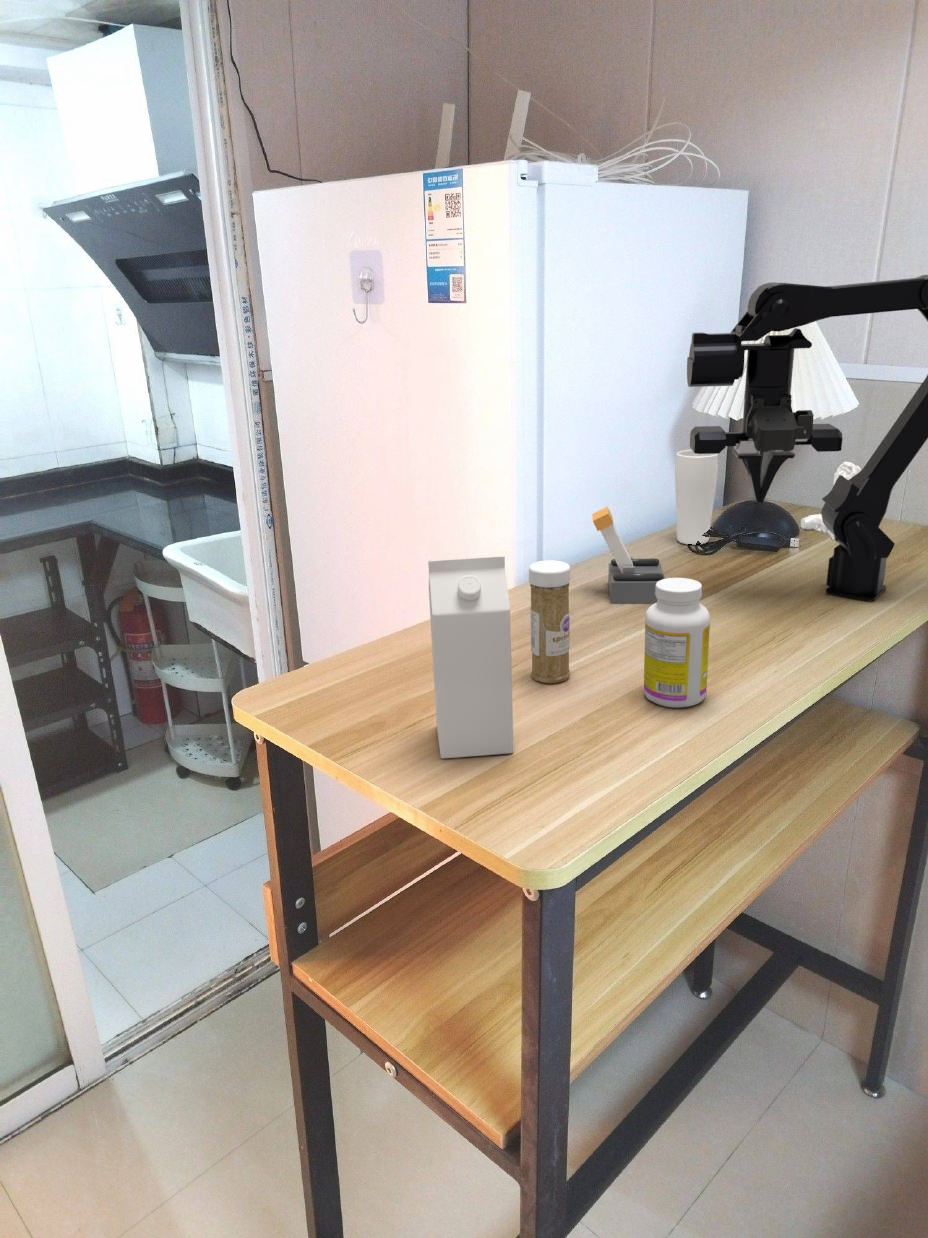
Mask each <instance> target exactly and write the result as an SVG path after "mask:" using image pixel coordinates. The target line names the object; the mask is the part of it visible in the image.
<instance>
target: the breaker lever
mask: <svg viewBox="0 0 928 1238" xmlns="http://www.w3.org/2000/svg"><path fill="white" fill-rule="evenodd" d="M591 516H592V522H593V525H594V527H595V528H596V530H597V532H599V531H600V532H601V535H602V537H603V539H604V541H605V543H606V544H607V547H608V549H609V551H610V553H611V555H612V556H613V559H615V561H616V563H617V565H618V567H619V569H620V571H621V573H623V566H633V563H632V560H631V558H630V557H631V556H630V554H629V551H627V548H626V545H625V544H624V542H623V540H622V537H621V536H620V533H619V532H618V530H617V529H616V526H615V524H614V523H615V522H614V519H613V514H612V512H611V510H610V509H609V507H608V506H605V507H604V508H602V509H599V510H597V511H595V512H593V513H591Z"/></svg>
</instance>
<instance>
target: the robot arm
mask: <svg viewBox="0 0 928 1238" xmlns="http://www.w3.org/2000/svg"><path fill="white" fill-rule="evenodd" d="M909 310H918V311H919V313H920V314H921V315H922V316H923V318H924V319H925V320H926V322H927V323H928V274H923V275H920V276H917V277H911V278H902V279H899V278H898V279H891V280H881V281H869V282H861V283H860V282H859V283H850V284H849V283H848V284H839V285H829V286H823V285H812V284H811V285H810V284H800V283H786V282H773V281H772V282H768V283H763V284H761V285H760V286H758V287H757V288H756V289H755V290H754V291H753V292H752V294H751V295H750V297H749V299H748V302H747V311H746V312H745V313H744V315H742V317H741V318H740V320H739V321H738V322H737V324H735V326H734V328H733V329H732V330H731V331H730V332H727V333H724V332H721V333H720V332H719V333H706V332H702V331H701V332H692V334H691V342H690V347H689V352H688V353H689V354H688V356H687V361H686V380H687V381H686V382H687V386H688V387H689V388H700V387H701V388H702V387H732V386H734V383H735V381H736V380H739V379H740V378H743V375H744V369H745V353H746V351H747V355H746V356H747V358H746V369H745V370H746V371H745V372H746V373H745V386H744V398H743V399H744V401H743V413H742V425H741V431H732V432H730V431H729V432H727V431H725V429H723V427H722V426H720V425H713V426H712V425H711V426H710V425H709V426H707V425H705V426H694V427H693V428H692V429H691V431H690V434H689V448H690V450H692V451H693V452H694V453H696V454H718V455H719V454H720V453H721V452H722V451H724V449H726V447H733V448H731V453H732V454H733V455H734V456H735V457H736V458H737V459H739V460H741V461H742V463H743V465H744V467H745V470H746V472H747V476H748V480H749V482H750V483H749V484H750V486H751V491H752V494H753V497H754V500H755V502H756V504H762V503H764V501H765V499H766V496H767V494H768V493H769V489H770V487H771V486H772V483H773V481H774V478H775V476H776V474H777V473H778V471H779V469H780V468H781V467H782V465H783V464H784V463H785V462H786V461H787V460H788V459H794V458H795V456H796V454H795V453H794V452H793V450H794V449H795V446H811V447H812V448H813V449H814V450H815V451H816V452H819V453H822V452H824V453H825V452H827V453H828V452H840V451H842V446H843V440H844V439H843V438H844V437H843V433H842V431H841V430H840V429H839V428H837V427H835V426H834V425H833V424H831V423H814V416H815V415H814V413H813V410H811V409H805V410H803V409H802V410H800V409H799V410H796V411H793V407H792V400H793V399H792V394H791V392H792V383H793V381H792V380H793V370H794V369H793V368H794V357H795V349H796V350H797V349H811V348H812V346H813V343H812V342H811V341H810V340H809V339H808V338H807V337H806V336H805V335H804V333H803V332H802V330H801V328H799V327H803V326H806V325H809V324H812V323H815V322H817V321H821V320H824V319H827V318H828V319H829V318H834V317H842V316H844V317H845V316H856V315H866V314H877V313H885V312H886V313H887V312H888V313H890V312H896V311H897V312H898V311H909ZM791 329H793V330H792V331H791V332H790V333H789V334H777V335H776V334H771V335H768V334H769V333H771V332H779V333H780V332H783V331H787V330H791ZM762 338H764V340H763V342H762V343H761V342H760V343H744V344H743V343H742V342H757V341H760V339H762ZM927 440H928V374H926V376H925V379H924V380H923V381H922V383H920V386H919V387H918V389H917V390H916V391H915V393H914V394H913V396H912V397H911V398H910V400H909V401H908V403H907V404H906V406H905V407H904V408H903V410H902V412H901V413H900V415H899V416H898V417H897V419H896V420H895V422H893V425H891V427H890V429H889V430H888V432H887V433H886V435H885V436H884V438H883V439H882V441H881V442H880V443H879V445H878V446H877V448H876V449H875V451H874V452H873V453H872V455H871V456H870V458H869V459H868V460H867V462H866V464H865V465H864V467H862V469H861V471H860V472H859V473H858V474H856V475H855V476H853V477H852V478H851V479H849V480H847V479H846V478H845V477H843V476H842V475H840V476H839V477H838V479H837V480H836V482H835V484H834V483H833V487H832V488H831V490H830V491H829V492H828V494H826V495H825V496H823V497H822V498H821V501H823V502H824V505H823V506H822V508H821V511H820V512H821V513H820V514H821V515H822V520H823V523H824V525H825V526H826V528H827V529H828V530H829V531H830V532H831V533H832V534H833V535H834V538H835V540H834V541H835V542H836V543H839V544H838V545H837V546H836V547H834V548H833V555H831V557H829V558H828V565H827V574H826V583H825V584H826V586H827V588H826V589H825V594H827V595H832V596H839V597H845V598H851V599H857V600H860V601H861V600H863V601H867V602H868V601H869V602H874V601H875V600H877V599H878V598H879V597H880V596H881V595H882V594H883V593H884V592H885V591H886V589H887V585H886V584H884V582H885V581H884V580H885V574H886V573H885V572H886V566H887V559H888V558H889V557H890V555H891V553H892V551H893V549H894V548H895V542H894V541H893V540H892V539H891V538H890V537H889V536H888V535H887V534H886V533H885V532H884V531H883V530H882V529H881V528H880V525H881V523H882V521H883V519H884V517H885V516H886V513H887V510H888V507H889V502H890V499H891V495H892V491H893V489H894V487H895V485H896V484H897V482H898V481H899V479H900V478H901V477H902V475H903V474H904V472H905V471H906V470H907V468H908V467H909V466H910V464H911V463H912V461H913V460H914V458H915V457H916V456H917V454H918V453H919V452H920V450H921V448H922V447H923V446H924V444H925V443H926V441H927ZM759 452H762V453H763V455H761V453H759Z"/></svg>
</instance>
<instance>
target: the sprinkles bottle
mask: <svg viewBox="0 0 928 1238" xmlns="http://www.w3.org/2000/svg"><path fill="white" fill-rule="evenodd" d="M528 582H529V583H530V584H529V587H530V610H529V611H530V651H531V672H530V675H531V677H532V678H533V680H534V681H536V682H539V683H545V684H557V683H561V682H564V681H566V680H567V679H569V678H570V676H571V671H570V648H571V647H570V643H571V642H570V639H571V638H570V633H571V632H570V607H569V606H570V604H569V603H570V602H569V601H570V599H569V597H570V593H569V592H570V582H571V566H570V565H569V564H568V563H567V562H564V561H560V560H553V559H552V560H539V561H535V562H533V563H531V564H530V565H529V568H528Z"/></svg>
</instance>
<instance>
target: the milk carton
mask: <svg viewBox="0 0 928 1238" xmlns="http://www.w3.org/2000/svg"><path fill="white" fill-rule="evenodd" d="M505 560H506V559H505V555H497V556H496V555H495V556H481V557H465V558H464V557H463V558H451V559H450V558H449V559H436V560H435V559H433V560H432V559H431V560H428V566H427V567H428V598H429V599H428V600H429V613H430V614H429V616H430V632H431V634H430V635H431V650H432V651H431V652H432V667H433V669H432V670H433V686H434V703H435V705H434V707H435V719H436V722H435V723H436V728H437V729H436V730H437V739H438V746H439V755H440V758H441V759H453V758H454V759H455V758H466V757H467V758H468V757H479V756H480V757H481V756H493V755H505V754H507V755H508V754H513V753H514V720H513V719H514V718H513V717H514V714H513V711H514V710H513V678H512V677H513V673H512V672H513V671H512V670H513V668H512V665H513V664H512V637H511V636H512V634H511V633H512V631H511V628H512V627H511V626H512V622H511V605H510V604H511V603H510V597H509V589H508V581H507V573H506V564H505V563H506V561H505Z"/></svg>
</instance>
